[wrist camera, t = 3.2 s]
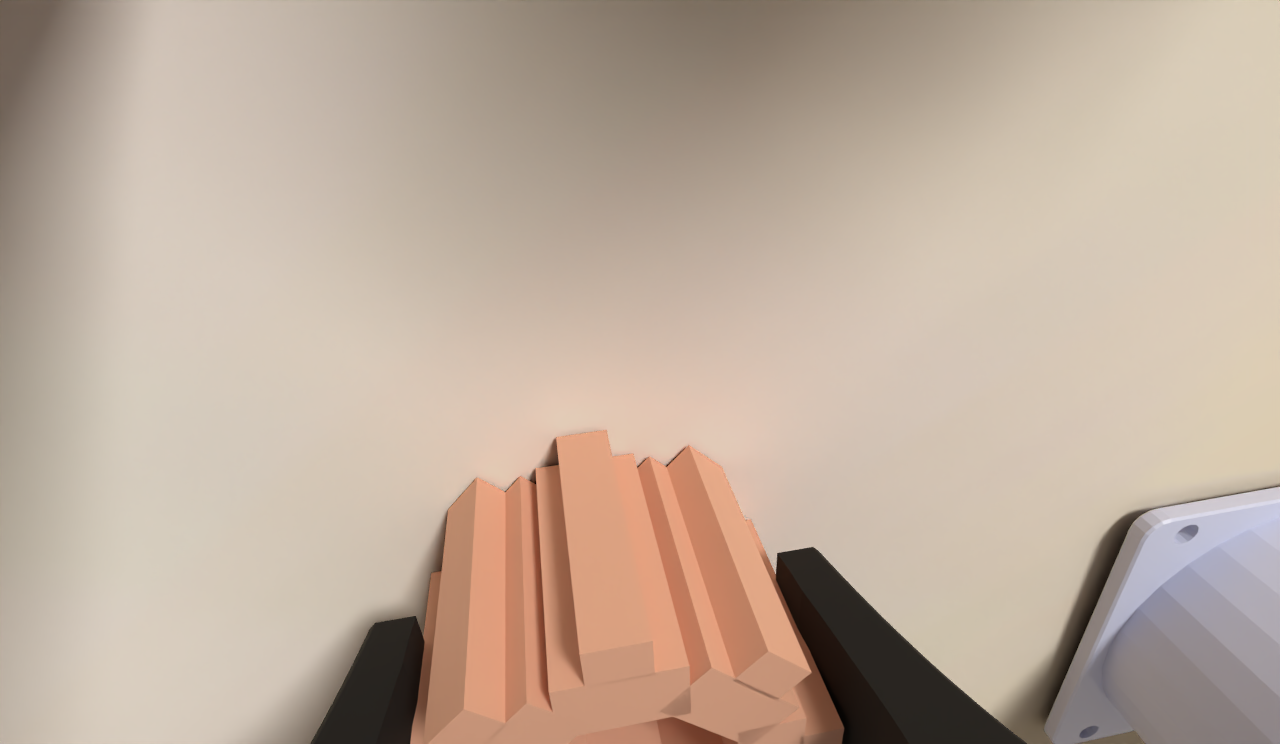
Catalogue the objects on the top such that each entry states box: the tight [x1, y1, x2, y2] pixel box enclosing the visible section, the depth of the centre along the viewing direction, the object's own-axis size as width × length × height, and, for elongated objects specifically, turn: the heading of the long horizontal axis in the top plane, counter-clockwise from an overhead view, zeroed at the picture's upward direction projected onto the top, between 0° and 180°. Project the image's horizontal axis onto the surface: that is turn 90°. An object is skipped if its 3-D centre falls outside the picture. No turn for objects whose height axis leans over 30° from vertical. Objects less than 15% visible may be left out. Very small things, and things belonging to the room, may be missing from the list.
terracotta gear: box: [410, 430, 844, 744], centre depth 10 cm, size 6×6×4 cm
